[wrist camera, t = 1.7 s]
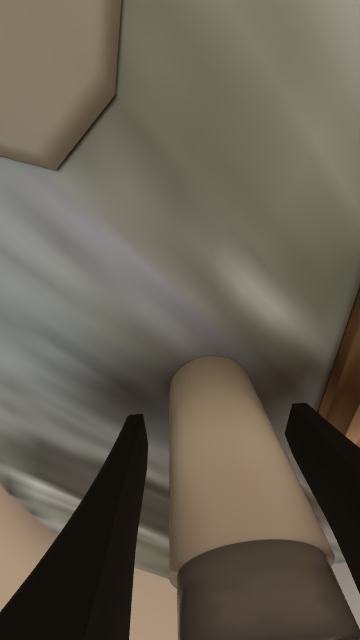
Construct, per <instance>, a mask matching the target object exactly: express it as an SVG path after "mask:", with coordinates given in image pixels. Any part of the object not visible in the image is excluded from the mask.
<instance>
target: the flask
mask: <svg viewBox="0 0 360 640" xmlns="http://www.w3.org/2000/svg"><path fill="white" fill-rule="evenodd" d="M120 14H121V0H0V156H2V157H6V158H10V159H14V160H18V161H22V162H26V163H29V164H33V165H37V166H41V167H45V168H49V169H53V170H56V169H57V168H58V167H59V166H60V164H61V163H62V162H63V160H64V159H65V158H66V157H67V155H68V154H69V153H70V152H71V150H72V149H73V148H74V146H75V145H76V144H77V143H78V141H79V140H80V139H81V138H82V136H83V135H84V134H85V132H86V131H87V130H88V129H89V127H90V126H91V125H92V124H93V122H94V121H95V120H96V118H97V117H98V116H99V115H100V113H101V112H102V111H103V110H104V108H105V107H106V106H107V104H108V103H109V102H110V101H111V99H112V98H113V97H114V96H115V88H116V73H117V58H118V44H119V29H120Z"/></svg>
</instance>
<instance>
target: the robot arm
mask: <svg viewBox="0 0 360 640" xmlns="http://www.w3.org/2000/svg"><path fill="white" fill-rule="evenodd" d="M285 436H286V438H287V441H288V443H289V446H290V448H291V451H292V453H293V456H294V458H295V460H296V462H297V464H298V466H299V468H300V470H301V472H302V474H303V476H304V477H305V479H306V481H307V483H308V485H309V487H310V489H311V491H312V493H313V494H314V496H315V498H316V500H317V502H318V504H319V506H320V508H321V510H322V511H323V513H324V515H325V517H326V519H327V521H328V523H329V525H330V527H331V529H332V531H333V533H334V535H335V538H336V540H337V542H338V544H339V547H340V549H341V551H342V554H343V556H344V558H345V560H346V563H347V565H348V567H349V569H350V572H351V574H352V577H353V579H354V581H355V584H356V586H357V589H358V591H359V593H360V448H359V447H358V446H357V445H356V444H354V443H353V442H352V441H351V440H350V439H348V438H347V437H346V436H345V435H343V434H342V433H341V432H340V431H339V430H337V429H336V428H335V427H334V426H333V425H332V424H330V423H329V422H328V421H327V420H326V419H324V418H323V417H322V416H321V415H320V414H318V413H317V412H316V411H315V410H314V409H313V408H311V407H310V406H309V405H308V404H306V403H296V404H292V407H291V411H290V415H289V419H288V423H287V427H286V431H285ZM147 456H148V440H147V434H146V429H145V423H144V417H143V414H136V415H129V416H128V417H127V419H126V421H125V423H124V426H123V428H122V430H121V432H120V434H119V436H118V438H117V440H116V442H115V444H114V446H113V448H112V450H111V452H110V454H109V455H108V457H107V459H106V461H105V463H104V465H103V466H102V468H101V470H100V472H99V473H98V475H97V477H96V478H95V480H94V482H93V483H92V485H91V487H90V488H89V490H88V492H87V493H86V495H85V496H84V498H83V500H82V501H81V503H80V504H79V506H78V507H77V509H76V510H75V512H74V513H73V515H72V516H71V518H70V519H69V521H68V522H67V524H66V525H65V527H64V528H63V530H62V531H61V532H60V534H59V535H58V537H57V538H56V539H55V541H54V542H53V544H52V545H51V546H50V548H49V549H48V551H47V552H46V553H45V555H44V556H43V558H42V559H41V560H40V562H39V563H38V564H37V566H36V567H35V568H34V570H33V571H32V572H31V574H30V575H29V576H28V577H27V579H26V580H25V582H24V583H23V584H22V585H21V586H20V588H19V589H18V590H17V591H16V593H15V594H14V595H13V596H12V598H11V599H10V601H9V602H8V603H7V604H6V605H5V607H4V608H3V609H2V610H1V612H0V640H129V630H130V615H131V601H132V588H133V575H134V562H135V549H136V541H137V533H138V526H139V519H140V512H141V505H142V498H143V492H144V485H145V478H146V471H147Z"/></svg>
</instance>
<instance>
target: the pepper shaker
mask: <svg viewBox="0 0 360 640" xmlns="http://www.w3.org/2000/svg"><path fill="white" fill-rule="evenodd" d="M333 562H334V553H333V551H332V549H331V547H330V545H329V543H328V541H327V539H326V537H325V535H324V533H323V530H322V528H321V526H320V524H319V522H318V520H317V518H316V516H315V514H314V512H313V510H312V508H311V506H310V504H309V502H308V499H307V497H306V495H305V493H304V491H303V489H302V487H301V485H300V483H299V481H298V479H297V477H296V475H295V473H294V470H293V468H292V466H291V464H290V462H289V460H288V458H287V456H286V454H285V452H284V450H283V448H282V446H281V444H280V442H279V439H278V437H277V435H276V433H275V431H274V429H273V427H272V425H271V423H270V421H269V419H268V417H267V415H266V413H265V410H264V408H263V406H262V404H261V402H260V400H259V398H258V396H257V394H256V392H255V390H254V388H253V386H252V384H251V382H250V379H249V377H248V375H247V373H246V371H245V370H244V369H243V367H242V366H241V365H239V364H238V363H237V362H235V361H233V360H231V359H228V358H225V357H220V356H207V357H201V358H197V359H195V360H192V361H190V362H188V363H186V364H185V365H183V366H182V367H181V368H180V369H179V370H178V371H177V372H176V373H175V375H174V376H173V378H172V380H171V383H170V501H169V579H170V582H171V583H172V585H173V586H174V587H175V588H177V612H178V640H360V629H359V627H358V625H357V623H356V621H355V618H354V616H353V614H352V612H351V610H350V607H349V605H348V603H347V601H346V599H345V596H344V594H343V592H342V590H341V588H340V586H339V583H338V581H337V579H336V577H335V575H334V572H333V570H332V568H331V566H332V564H333Z"/></svg>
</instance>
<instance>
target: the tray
mask: <svg viewBox="0 0 360 640" xmlns="http://www.w3.org/2000/svg"><path fill="white" fill-rule="evenodd" d="M318 414H320V415H321V416H322V417H323V418H324V419H326V420H327V421H328V422H329V423H330V424H332V425H333V426H334V427H335V428H336V429H337V430H339V431H340V432H341V433H342V434H343V435H345V436H346V437H347V438H348V439H350V440H351V441H352V442H353V443H354V444H356V445H357V446H358V447H359V448H360V290H359V293H358V296H357V299H356V302H355V305H354V308H353V311H352V314H351V317H350V320H349V323H348V326H347V329H346V332H345V334H344V337H343V340H342V343H341V346H340V349H339V352H338V355H337V358H336V361H335V364H334V367H333V370H332V373H331V376H330V379H329V382H328V385H327V388H326V391H325V394H324V397H323V400H322V402H321V405H320V408H319V411H318Z"/></svg>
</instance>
